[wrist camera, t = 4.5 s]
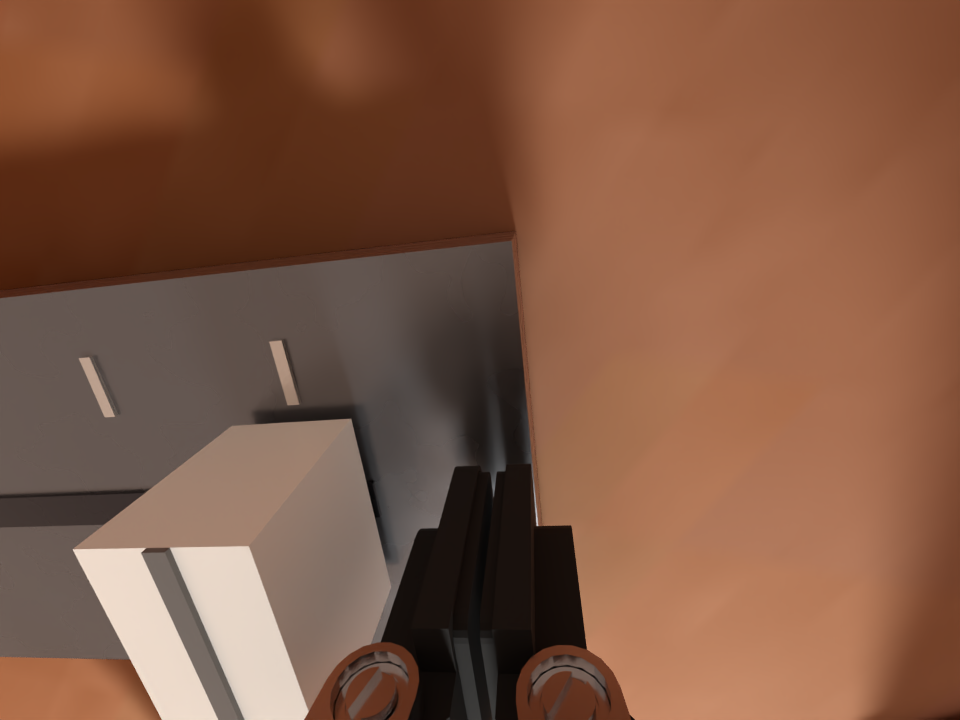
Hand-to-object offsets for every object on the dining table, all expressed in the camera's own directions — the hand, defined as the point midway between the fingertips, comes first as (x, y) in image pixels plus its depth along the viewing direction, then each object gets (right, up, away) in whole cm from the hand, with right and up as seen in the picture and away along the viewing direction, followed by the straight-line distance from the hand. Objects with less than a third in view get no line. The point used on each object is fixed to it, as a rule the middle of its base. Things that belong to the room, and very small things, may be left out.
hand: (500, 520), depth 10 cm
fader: (-5, 0, +1) cm, 5 cm away
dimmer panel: (-12, 0, +5) cm, 13 cm away
